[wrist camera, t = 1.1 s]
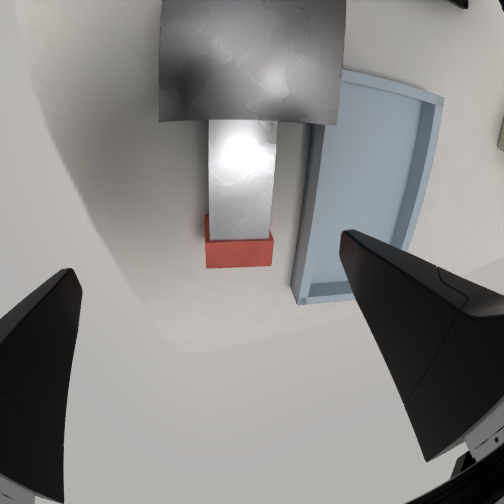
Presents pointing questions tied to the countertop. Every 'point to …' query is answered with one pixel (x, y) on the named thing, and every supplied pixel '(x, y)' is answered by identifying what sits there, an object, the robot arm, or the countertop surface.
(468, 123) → the countertop surface
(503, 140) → the skincare box
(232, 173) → the pin
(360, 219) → the tray
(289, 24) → the block
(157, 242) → the countertop surface
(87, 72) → the countertop surface
